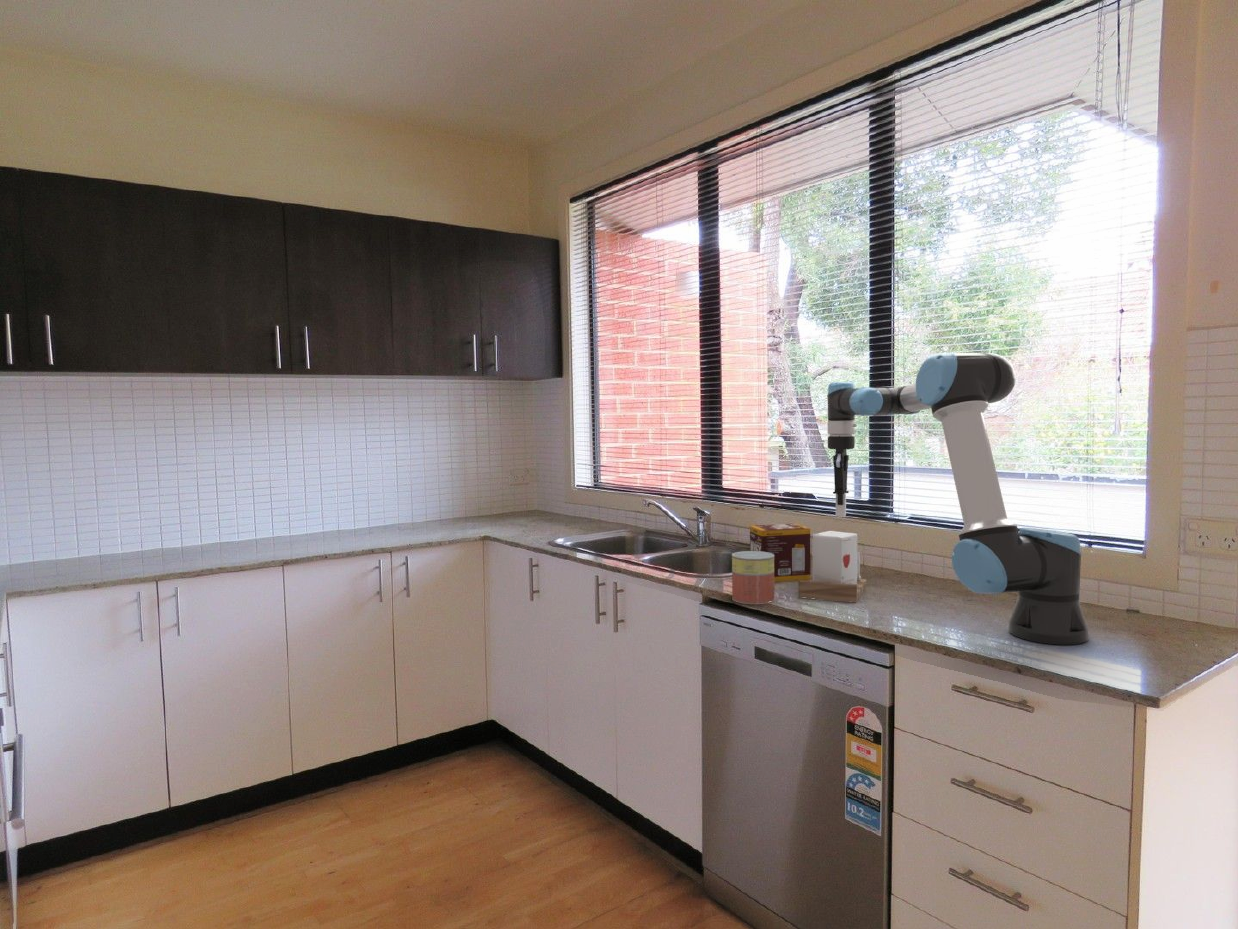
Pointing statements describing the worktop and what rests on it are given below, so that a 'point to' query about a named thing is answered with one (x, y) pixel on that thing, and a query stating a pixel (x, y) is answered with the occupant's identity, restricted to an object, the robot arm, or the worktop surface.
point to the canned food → (753, 577)
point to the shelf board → (831, 590)
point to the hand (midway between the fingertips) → (840, 515)
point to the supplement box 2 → (835, 557)
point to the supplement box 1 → (784, 549)
